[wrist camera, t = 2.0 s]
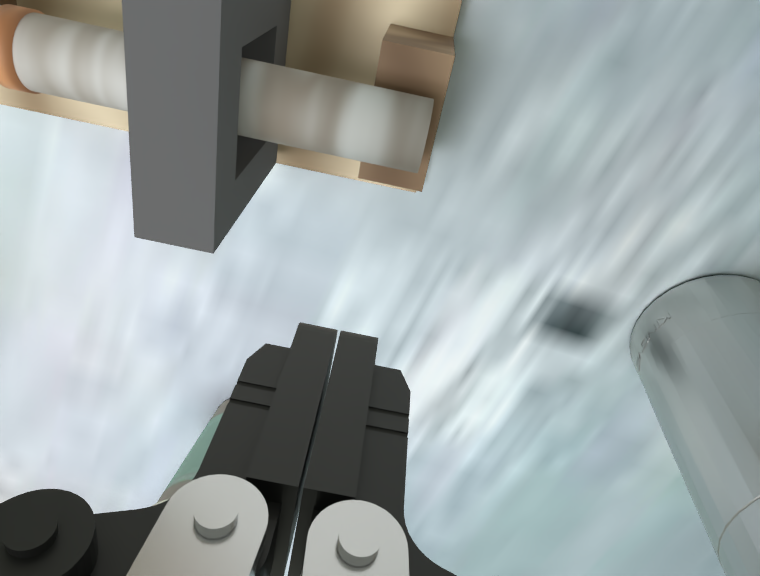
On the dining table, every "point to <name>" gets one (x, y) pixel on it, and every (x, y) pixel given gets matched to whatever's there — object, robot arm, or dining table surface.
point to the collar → (195, 113)
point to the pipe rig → (264, 79)
